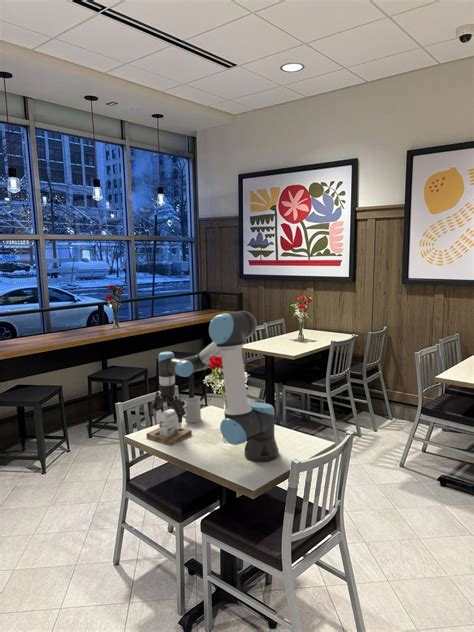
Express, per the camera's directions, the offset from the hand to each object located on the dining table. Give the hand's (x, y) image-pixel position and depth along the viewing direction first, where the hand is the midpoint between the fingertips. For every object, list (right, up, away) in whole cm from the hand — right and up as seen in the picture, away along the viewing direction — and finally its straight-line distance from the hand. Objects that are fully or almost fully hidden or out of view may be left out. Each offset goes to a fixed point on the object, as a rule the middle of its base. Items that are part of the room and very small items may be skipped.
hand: (169, 425), depth 223 cm
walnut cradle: (0, -5, +1) cm, 5 cm away
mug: (+8, -3, +21) cm, 23 cm away
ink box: (0, -5, +1) cm, 5 cm away
